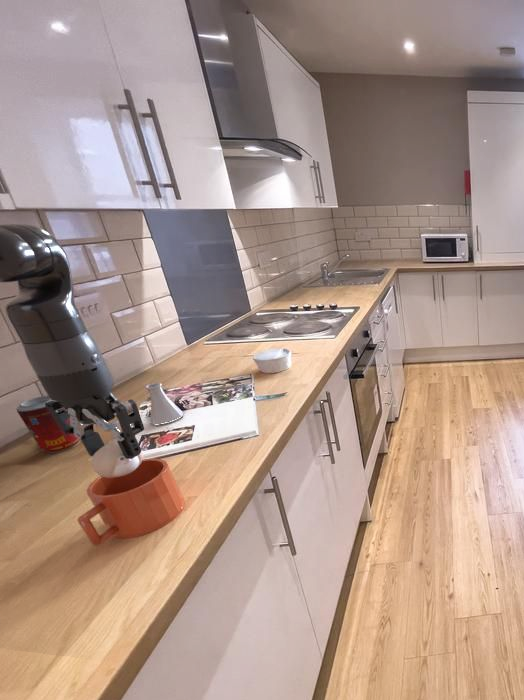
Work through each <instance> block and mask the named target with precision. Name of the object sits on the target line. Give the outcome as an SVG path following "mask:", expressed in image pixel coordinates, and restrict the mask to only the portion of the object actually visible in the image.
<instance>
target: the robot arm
mask: <svg viewBox="0 0 524 700" xmlns="http://www.w3.org/2000/svg"><path fill="white" fill-rule="evenodd" d="M71 269H72V268H71V265H70V261H69V258H68V255H67V252H66V251H65V249H64V248H63V246H62V245H61V244H60V242H59V241H58V240H57V238H55V237H54V236H53V234H51V233H50V232H48V231H46V230H45V229H43V228H41V227H39V226H37V225H34V224H29V223H18V222H17V223H6V224H0V283H1V284H2V283H4V284H5V283H6V284H7V283H14V282H17V288H18V290H17V291H18V293H17V294H16V295H15V297H13V298H12V299H10V300H8V301H7V302H6V303H5V305H4V306H3V308H4V313H5V316H6V318H7V320H8V322H9V323H10V325H11V327H12V329H13V331H14V332H15V335H16V337H17V339H18V340H19V342H20V344H21V345H22V348H23V351H24V354H25V357H26V359H27V361H28V362H29V364H30V367H31V368H32V370H33V372H34V374H35V375H36V377H37V379H38V381H39V382H40V384H41V386H42V387H43V390H44V392H45V393H46V396H48V397H49V398H50V399H51V400H52V401H50V402H48V403H45V406H46V408H47V409H48V411H49V412H50V414H51V415H52V416H53V418H54V419H55V421H56V422H57V424H58V425H59V427H60V428H61V429H62V431H63V432H64V433H65V434H66V435H70V434H74V436H75V437H76V438H78V439H79V440H80V442H81V443H82V445H83V447H84V448H85V450H86V452H87V453H88V455H89V456H90V457H93V455H94V454H95V453H96V452H97V451H98V450H99V449H100V448H102V447H103V446H105V445H106V444H105V443H104V441H103V439H102V437H101V435H100V433H99V432H98V431H97V426H98V427H99V428H100V429H101V431H103V432H109V434H111V435H112V436H113V437H114V438H116V439H117V440H118V441H117V442H118V444H119V446H120V448H121V450H122V452H123V454H124V456H125V458H126V459H133V458H134V457H136V456H137V455H139V454H140V453H141V450H142V448H141V445H140V444H139V441H138V439H137V437H136V435H139V434H140V433H142V432H144V431H145V426H144V422H143V420H142V417H141V414H140V412H139V408H138V405H137V402H136V401H135V400H134V399H129V400H127V401H121V400H118V398H117V397H116V396H115V395H114V394H113V392H112V388H113V387H114V385H115V379H114V377H113V376H112V373H111V371H110V368H109V367H108V365H107V363H106V361H105V359H104V356H103V355H102V352H101V350H100V348H99V346H98V344H97V342H96V341H95V339H94V338H93V337H92V335H91V334H90V332H89V330H88V328H87V325H86V324H85V321H84V320H83V318H82V315H81V313H80V312H79V309H78V308H77V306H76V302H75V290H74V283H73V276H72V271H71ZM69 418H70V426H69V425H68V423H67V422H66V420H67V419H69ZM115 418H117V420H115V421H113V422H110V421H112V420H114V419H115ZM109 422H110V423H109ZM118 426H120V429H122V432H120V431H121V430H119V429H118V428H117V427H118Z"/></svg>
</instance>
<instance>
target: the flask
mask: <svg viewBox="0 0 524 700" xmlns="http://www.w3.org/2000/svg"><path fill="white" fill-rule="evenodd" d="M145 389H146V390H147V391H148V393H149V398H150V418H149V419H150V422H151V423H154V424H161V423H165V422H170V421H172V420H175V419H177V418H179V417H182V414H183V413H184V411H182V409H180V408H179V406H177V404H175V403H174V402H173V401H172V400H171V399H170V398H169V397H168V396H167V395H166V393H165V391H164V390H163V388H162V383H161V382H153V383H149V384H147V385H145Z"/></svg>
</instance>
